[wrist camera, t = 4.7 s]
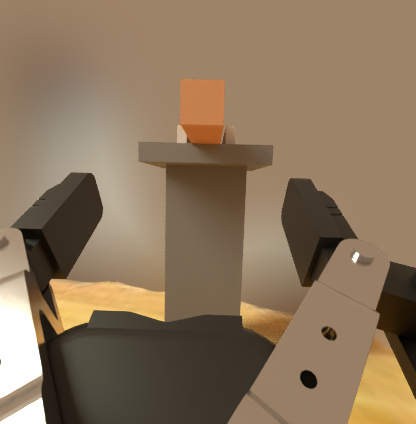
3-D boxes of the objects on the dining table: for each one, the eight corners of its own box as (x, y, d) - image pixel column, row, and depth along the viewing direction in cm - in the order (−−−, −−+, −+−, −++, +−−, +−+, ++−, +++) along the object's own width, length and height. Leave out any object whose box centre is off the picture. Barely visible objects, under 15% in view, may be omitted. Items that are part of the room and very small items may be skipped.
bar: (223, 125, 18) (225, 79, 18) (180, 124, 18) (181, 78, 18) (217, 156, 40) (218, 136, 39) (198, 155, 40) (198, 135, 40)
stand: (122, 416, 31) (119, 121, 27) (154, 333, 48) (155, 144, 44) (274, 423, 31) (293, 126, 27) (252, 337, 47) (262, 147, 43)
